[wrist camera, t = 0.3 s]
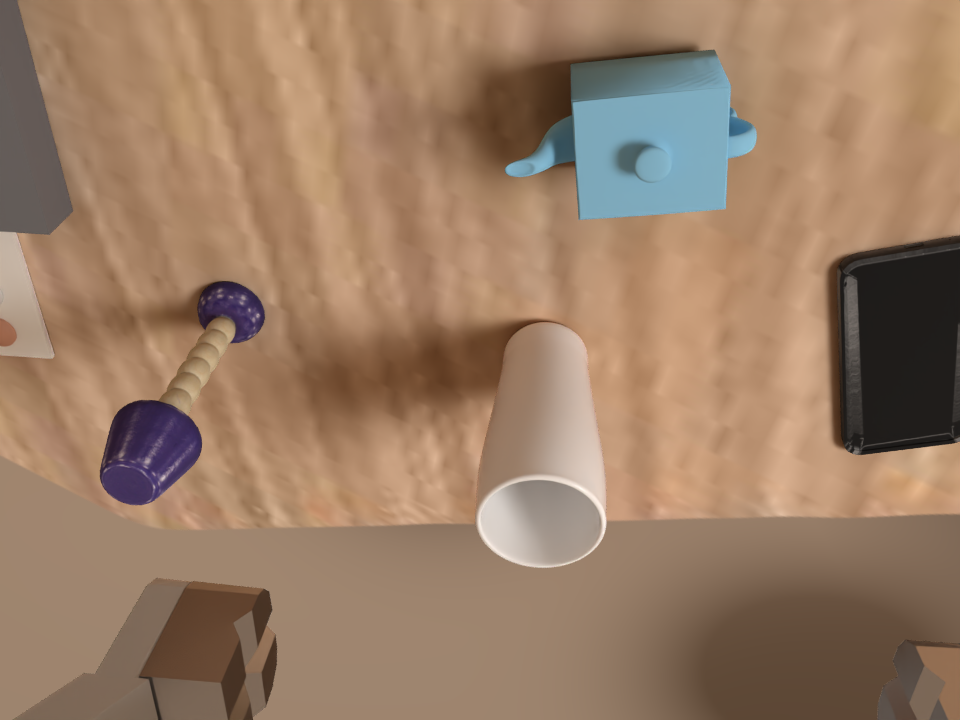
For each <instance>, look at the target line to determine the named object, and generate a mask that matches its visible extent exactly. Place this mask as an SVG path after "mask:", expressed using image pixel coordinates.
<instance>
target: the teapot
mask: <svg viewBox="0 0 960 720" xmlns="http://www.w3.org/2000/svg"><path fill="white" fill-rule="evenodd" d="M730 91H731V85H730V83H729V81H728V79H727V76H726V74H725V72H724V70H723V67H722V65H721V63H720V61H719V59H718V56H717V54H716V52H715V50H706V51H695V52H685V53H674V54H664V55H654V56H644V57H633V58H623V59H613V60H603V61H593V62H583V63H574V64H571V107H572V115H571V116H569V117H566V118H564V119H562V120H560V121H558V122H557V123H555V124H554V125H553V126H552V127H551V128H550V129H549V130H548V131H547V133H546V134H545V136H544V138H543V139H542V141H541V143H540V145H539V147H538V148H537V149H536V151H535V152H534V153H532V154H531V155H530V156H528V157H526V158H523V159H521V160H518V161H515V162H513V163H510V164H509V165H508V166H506V168H505V173H506V174H507V175H510V176H514V177H525V176H530V175H534V174H537V173H540V172H542V171H544V170H546V169H548V168H550V167H552V166H554V165H557V164H560V163H565V162H572V161H575V169H576V184H577V200H578V215H579V220H583V219H600V218H615V217H630V216H644V215H658V214H670V213H683V212H695V211H707V210H718V209H726V189H727V165H728V158H733V157H738V156H741V155H744V154H746V153H748V152H750V151H751V150H752V149H753V148H754V146H755V143H756V139H757V133H756V129H755V127H754V126H753V125H752V124H751V123H749V122H747V121H745V120H742V119H740V118H737V114H736V112H735V110H734V109H733V108H731V107H730Z"/></svg>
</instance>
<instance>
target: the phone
mask: <svg viewBox="0 0 960 720" xmlns="http://www.w3.org/2000/svg"><path fill="white" fill-rule="evenodd" d="M949 239H951V240H949ZM921 245H923V246H921ZM915 246H921V247H915ZM909 247H915V248H909ZM905 248H909V249H905ZM837 301H838V336H839V372H840V408H841V437H842V441H843V444H844V446H845V448H846V450H847V451H848V452H850V453H852V454H856V455H865V454H873V453H881V452H889V451H897V450H905V449H913V448H921V447H929V446H937V445H945V444H952V443H957V442H959V441H960V236H954V237H948V238H942V239H936V240H930V241H925V242H919V243H913V244H907V245H901V246H895V247H890V248H884V249H878V250H872V251H866V252H860V253H856V254H852V255H850V256H848V257H847V258H845V259H844V260H843V261H842V262H841V263H840V265H839V267H838V269H837Z"/></svg>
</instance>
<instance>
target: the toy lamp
mask: <svg viewBox="0 0 960 720" xmlns="http://www.w3.org/2000/svg"><path fill="white" fill-rule="evenodd" d="M198 317H199V321H200V323H201V325H202V326H203V328H204V329H205V333H203V334H202V335H201V336H200V338H199V339H198V341H197V343H196V346H195V347H194V348H193V349H192V350H191V351H190V352H189V354H188V356H187V360H186V361H185V362H183V363H182V365H181V366H180V367H179V369H178V371H177V376H176V377H174V378H173V379H172V381H171V382H170V384H169V385H168V388H167V392H166V393H165V394H163V395H162V397H161V398H160V399H159V401H155V400H139V401H135V402H132V403H129V404H127V405H126V406H124V407H123V408H122V409H120V410H119V411H118V413H117V414H116V416H115V417H114V419H113V421H112V424H111V427H110V431H109V435H108V439H107V443H106V447H105V451H104V456H103V459H102V463H101V469H100V480H101V483H102V485H103V487H104V489H105V490H106V491H107V493H108V494H109V495H111V496H112V497H113V498H114V499H116V500H118V501H120V502H123V503H126V504H129V505H144V504H148V503H150V502H152V501H154V500H155V499H157V498H158V497H159V496H161V495H162V494H163V493H164V492H165V491H166V490H167V489H168V488H169V487H171V486H172V485H173V484H174V483H175V482H176V481H177V480H178V479H179V478H180V477H181V476H183V475H184V474H185V473H186V472H187V471H188V470H189V469H190V468H191V467H192V466H193V465H194V464H195V462H196V461H197V459H198V458H199V456H200V453H201V448H202V438H201V434H200V432H199V429H198V427H197V426H196V425H195V423H194V422H193V420H192V419H191V418H190V417H189V416H188V414H189V413H190V410H191V407H192V404H193V403H194V402H195V401H196V400H197V398H198V396H199V394H200V392H201V388H202V387H203V386H204V385H205V384H206V383H207V381H208V379H209V377H210V373H211V372H213V371H214V370H215V368H216V367H217V365H218V363H219V358H220V357H222V356H223V354H224V353H225V351H226V349H227V345H228V344H229V343H240V342H243V341H246V340H249V339H251V338H252V337H254V336H255V335H256V334H257V333H258V332H259V331H260V329H261V327H262V326H263V323H264V320H265V314H264V309H263V306H262V304H261V301H260V300H259V299H258V297H257V296H256V295H255V294H254V293H253V292H252V291H250V290H249V289H247V288H246V287H244V286H242V285H240V284H236V283H233V282H217V283H214V284H212V285H210V286H208V287H207V288H206V289H205V290H204V291H203V292H202V294H201V296H200V299H199V303H198Z"/></svg>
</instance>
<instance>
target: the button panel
mask: <svg viewBox="0 0 960 720" xmlns="http://www.w3.org/2000/svg"><path fill="white" fill-rule="evenodd" d="M72 212H73V209H72V206H71V202H70V198H69V194H68V191H67V187H66V183H65V179H64V176H63V172H62V168H61V164H60V161H59V157H58V153H57V149H56V146H55V142H54V138H53V134H52V131H51V127H50V123H49V119H48V116H47V112H46V108H45V104H44V100H43V97H42V93H41V89H40V85H39V82H38V78H37V74H36V70H35V67H34V63H33V59H32V55H31V52H30V48H29V44H28V40H27V37H26V33H25V29H24V25H23V22H22V18H21V14H20V10H19V7H18V3H17V0H0V232H16V233H32V234H47V235H50V234H51V233H52V232H53V231H54V230H55V229H56V228H57V227H58V226H59V225H60V224H61V223H62V222H63V221H64V220H65V219H66V218H67V217H68V216H69V215H70V214H71V213H72Z"/></svg>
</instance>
